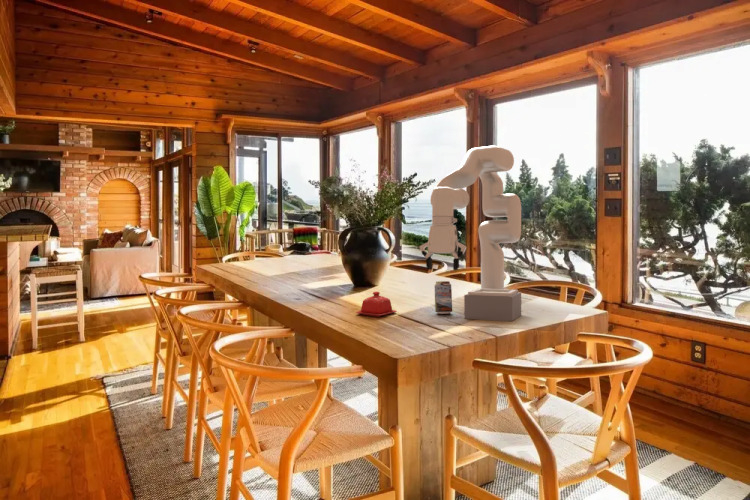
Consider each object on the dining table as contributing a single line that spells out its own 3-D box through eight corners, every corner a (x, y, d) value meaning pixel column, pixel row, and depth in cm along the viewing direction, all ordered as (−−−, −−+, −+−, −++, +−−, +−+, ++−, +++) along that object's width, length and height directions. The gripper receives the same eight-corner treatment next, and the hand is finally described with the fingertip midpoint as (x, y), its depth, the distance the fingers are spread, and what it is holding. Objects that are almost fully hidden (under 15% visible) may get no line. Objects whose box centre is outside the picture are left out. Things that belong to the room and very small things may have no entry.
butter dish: (380, 318, 190) (379, 293, 190) (354, 315, 197) (353, 292, 197) (398, 314, 199) (398, 291, 199) (373, 312, 206) (373, 289, 206)
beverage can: (439, 316, 192) (439, 281, 192) (431, 313, 200) (431, 280, 199) (455, 315, 194) (455, 281, 194) (447, 312, 201) (447, 280, 201)
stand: (476, 312, 200) (476, 288, 200) (521, 315, 193) (521, 289, 193) (464, 318, 185) (464, 292, 185) (512, 321, 179) (512, 293, 178)
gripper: (469, 222, 196) (468, 270, 196) (423, 222, 203) (423, 269, 203) (463, 220, 189) (463, 270, 189) (416, 221, 196) (416, 269, 196)
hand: (442, 269), depth 196 cm, fingers open, 9 cm apart
